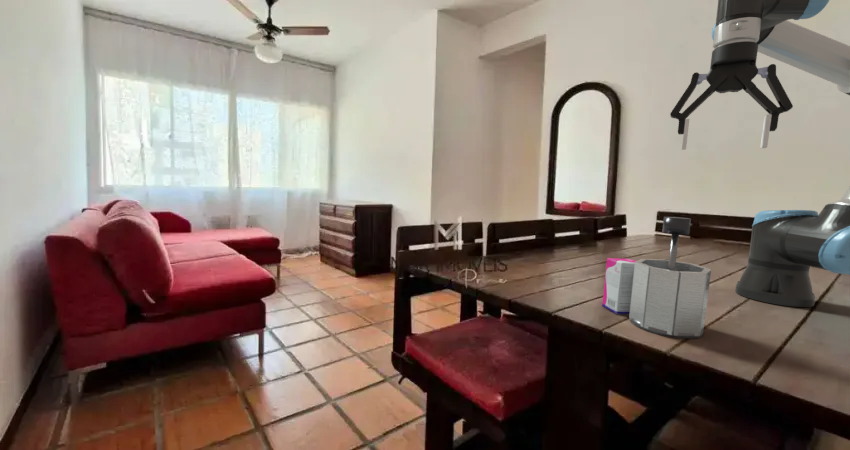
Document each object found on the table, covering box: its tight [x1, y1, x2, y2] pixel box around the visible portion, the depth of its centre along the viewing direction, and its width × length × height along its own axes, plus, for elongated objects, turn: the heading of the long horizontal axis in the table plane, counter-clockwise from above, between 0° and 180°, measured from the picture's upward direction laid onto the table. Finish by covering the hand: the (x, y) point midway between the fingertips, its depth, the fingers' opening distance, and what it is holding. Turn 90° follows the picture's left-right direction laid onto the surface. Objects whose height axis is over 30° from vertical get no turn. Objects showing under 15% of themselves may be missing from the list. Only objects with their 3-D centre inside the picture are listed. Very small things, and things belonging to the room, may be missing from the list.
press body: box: [628, 258, 712, 340], centre depth 75 cm, size 12×15×12 cm
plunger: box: [662, 216, 692, 271], centre depth 73 cm, size 8×8×20 cm
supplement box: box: [601, 257, 636, 315], centre depth 83 cm, size 6×6×12 cm
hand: (721, 148), depth 81 cm, fingers open, 13 cm apart
